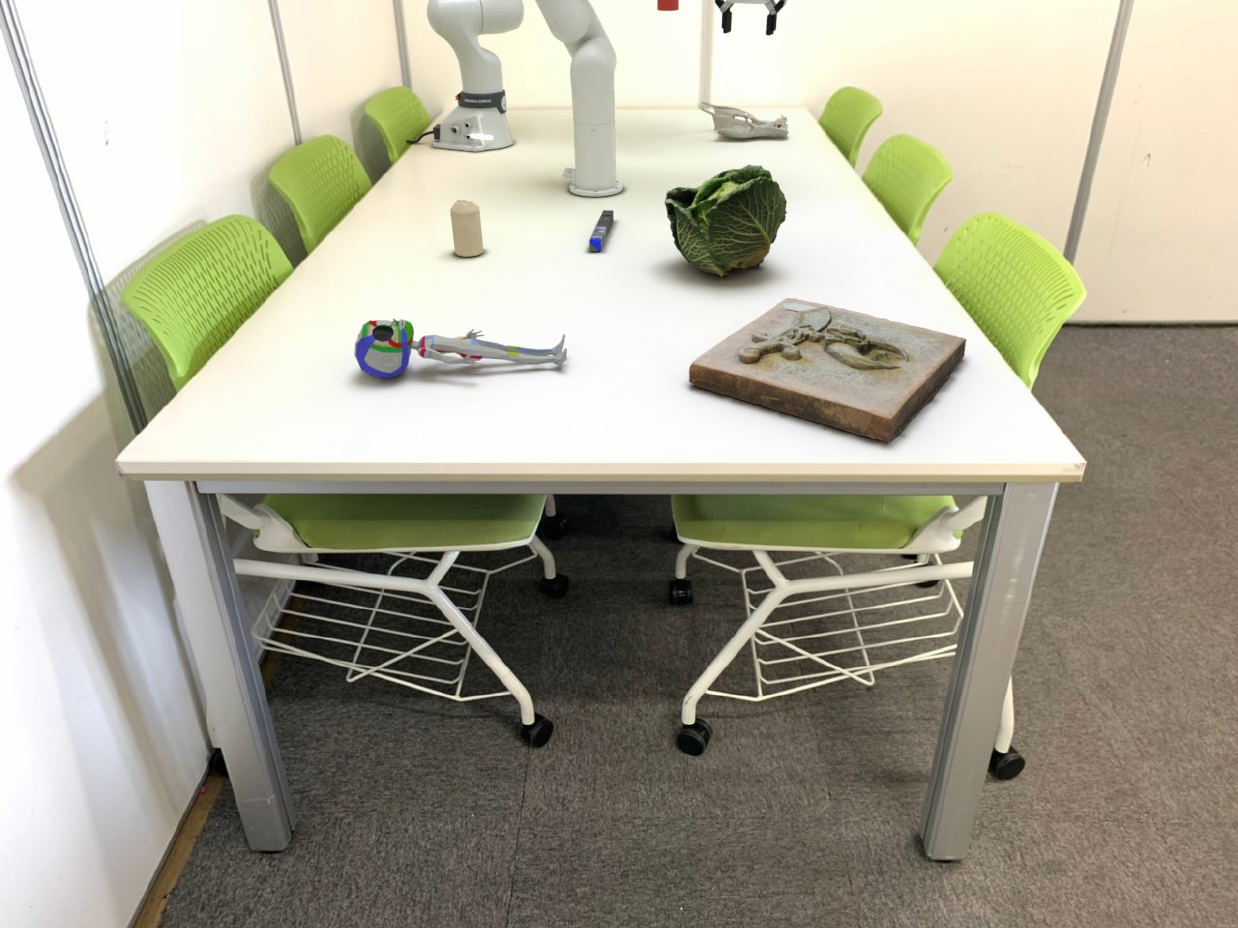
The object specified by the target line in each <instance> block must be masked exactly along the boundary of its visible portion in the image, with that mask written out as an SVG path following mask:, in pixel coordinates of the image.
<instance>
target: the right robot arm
mask: <svg viewBox="0 0 1238 928" xmlns="http://www.w3.org/2000/svg"><path fill="white" fill-rule="evenodd" d="M534 1H535V3H536V5H537V7H538V9H539V11H540V13H541V15H542V17H543V18H544V21H545V23H546V24H547V27H548V28H549V31H550V34H552V36H553V37H554V38H555V39H556V40H558V41H560V42H562V43H563V44H564V47H565V49H566V50H567V52H568V54H569V56H570V58H571V61H570V68H569V77H570V89H571V101H572V119H573V120H572V121H573V139H574V140H573V142H574V143H573V144H574V168H571V167H565V168H564V169H563V173H562V178H564V179H570V180H571V183H570V184H569V187H568V188H569V191H570V193H571V194H573V195H577V196H581V197H589V198H590V197H592V198H593V197H594V198H595V197H596V198H597V197H608V196H612V195H616V194H619V193H621V192H622V191H623V189H624V184H623V183H622V182H621V181H620V180H617V152H616V151H617V150H616V148H617V147H616V143H617V142H616V99H615V72H616V69H617V61H618V60H617V54H616V51H615V49H614V46H613V44H612V42H611V40H610V39H609V36H608V34H607V32H606V31H605V28H604V26H603V25H602V24H603V23H602V22H601V21H600V19H599V16H598V14H597V13H596V11H595V9H594V7H593V5H592V4H591V2H590V1H589V0H534ZM787 2H788V0H779V1H777V2H776V1H775V0H714V4H715V5H716V6H717V8H718V9H719V12H720V13H721V29H722V33H723V34H729V33H731V32H732V23H733V12H732V11H731V8H732V7H734V5H735V4H743V5H764V6H765V7H766V9H767V10H768V14H767V15H766V27H765V35H766V36H767V37H768V36H772V35H774V33H775V32H776V29H777V21H778V20H777V19H778V13H779V12H780V11H781V10H783V8H784V7H785V6H786V4H787Z"/></svg>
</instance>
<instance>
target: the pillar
mask: <svg viewBox="0 0 1238 928" xmlns="http://www.w3.org/2000/svg"><path fill="white" fill-rule="evenodd" d="M614 216H615V215H614V210H613V209H612V210H611V209H602V212H601V214H600V216H599V219H598V221H597V222H596V225H595V227H594V229H593V231H592V234H591V236H590V237H589V241H588V243H589V244H588V245H589V246H588V247H589V248H588V250H589V252H601V251H602V249H603V247H604V245H605V242H606V239H607V237H608V235H609V232H610V231H611V228H612V226H613V223H614Z"/></svg>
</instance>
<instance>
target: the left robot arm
mask: <svg viewBox="0 0 1238 928" xmlns="http://www.w3.org/2000/svg"><path fill="white" fill-rule="evenodd" d="M426 17H427V21H428V23H429V25H430V27H431V29H432V30H433V31H434V33H436V34H437V35H438V36H440V37H441V38H442V39H444V40H445V41H446V42H447V44H448V45H449V46H450V47H451V49H452V50H453V52H454V54H455V56H456V59H457V61H458V67H459V72H460V78H461V85H462V90H461V91H460V92H458V93H457V94H456V95H455V96H454V97H455V99H454V100H455V101H457V106H456V107H455V108H454V109H453V110H452V111H451V112H450V113H449V114H448V115H446V117H445V118H444V119H442V121H441V123H437V124H435V126H433V127H432V130H430V131H426V132H424V133H421V134H420V135H419V136H418V138H417V139H415V140H410V139H406V140H405V143H406V144H418V143H419V142H420V141H421V140H422V139H423V138H424V137H426V136H428V135H429V136H430V135H433V139H434V140H433V141H432V147H433V148H436V149H437V148H438V149H446V150H455V151H465V152H474V153H475V152H476V153H478V152H483V151H489V150H497V149H502V148H507V147H509V146H511V145H513V144H514V139H513V137H512V135H511V130H510V125H509V122H508V117H507V106H508V105H507V97H506V90H505V89H504V79H503V69H502V61H501V59H500V57H499V55H497V54H496V53H495V52H493V51H492V50H489V49H487V48H485V47H483V46H481V45H480V42H479V39H478V38H479V37H478V36H485V35H495V34H496V35H499V34H500V35H501V34H506V33H508V32H512V31H515V30H517V29H519V28H520V27H521V25H522V23H523V21H524V17H525V6H524V1H523V0H428V2H427V5H426Z"/></svg>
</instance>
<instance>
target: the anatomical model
mask: <svg viewBox="0 0 1238 928" xmlns="http://www.w3.org/2000/svg"><path fill="white" fill-rule="evenodd" d="M701 105H705V106H708V107H711V108H712V109H713V111H714V112H711V111H710V110H708V109H706V108H704V107H700V110H701V111H703V112H704V113H707V114H709V115H710V116H711V117H712V122H713V127H714V128H713V130H714V131H717V132H718V134H719V135H720V136H726V137H728V138H731V139H737V140H739V139H740V140H741V139H750V138H754V137H775V138H781V137H787V136H788V135H789V125H788V124H787V122H788V118H787V116H784V115H783V114H781V117H778V118H776V119H775V120H764V119H759V118H757V117H756V116H754V115H753V114H752V113H750V112H749V111H745V110H743V109H740V108H738V107H737V108H736V107H732V106H728V105H717V104H713V103H710V102H707V101H701ZM736 117H737V118H736ZM739 117H741V118H743V119H739ZM748 119H749V120H750V121H751V122H750V121H749V120H748Z"/></svg>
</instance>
